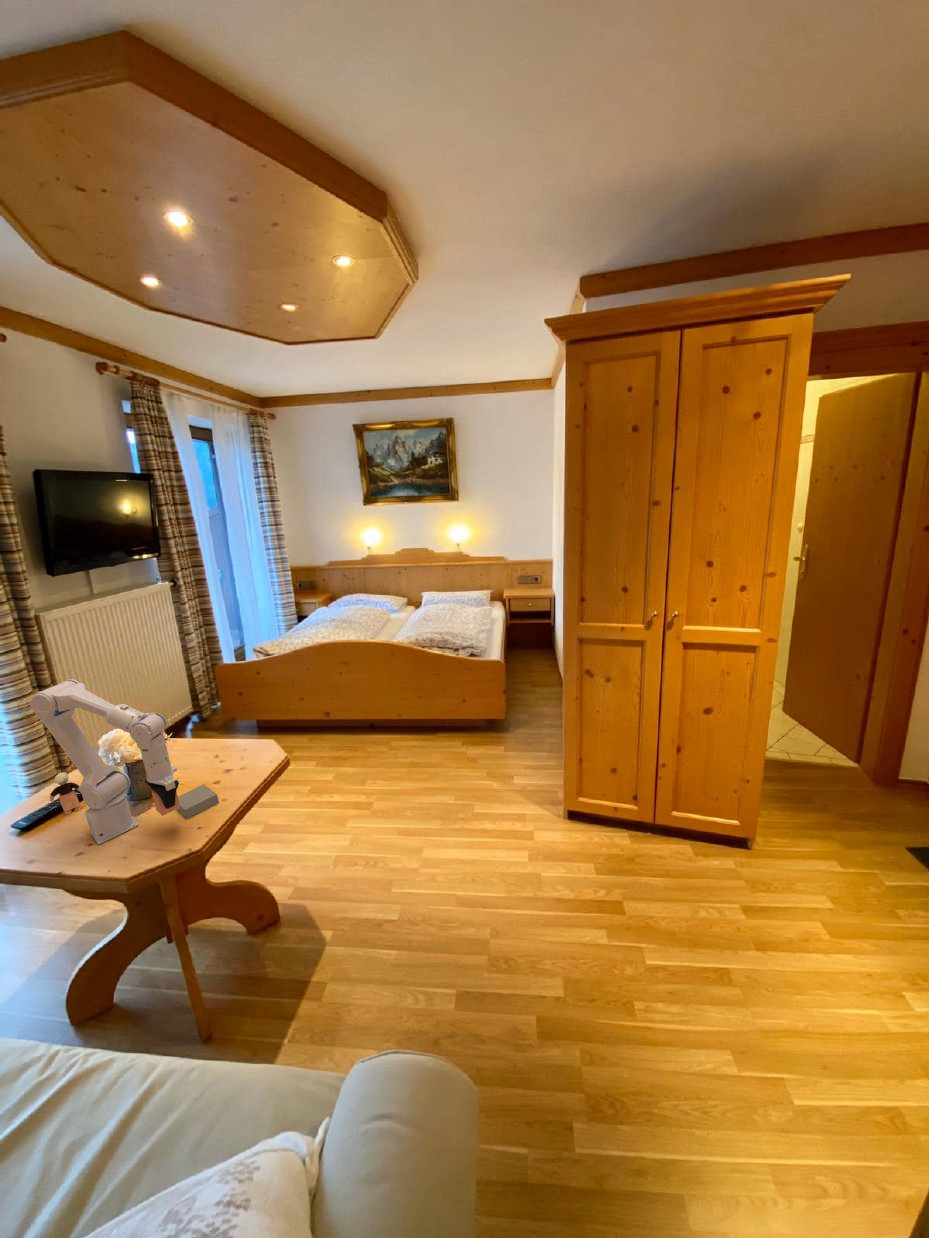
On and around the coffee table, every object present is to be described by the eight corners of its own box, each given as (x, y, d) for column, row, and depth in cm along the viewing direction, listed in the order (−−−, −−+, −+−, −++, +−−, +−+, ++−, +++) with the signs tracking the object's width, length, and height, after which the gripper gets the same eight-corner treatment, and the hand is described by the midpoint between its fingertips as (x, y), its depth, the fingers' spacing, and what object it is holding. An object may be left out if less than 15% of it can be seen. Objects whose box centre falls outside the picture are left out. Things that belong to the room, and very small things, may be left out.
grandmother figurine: (85, 801, 147) (74, 765, 144) (88, 806, 144) (77, 769, 141) (53, 815, 141) (41, 777, 138) (56, 820, 139) (44, 782, 135)
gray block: (187, 818, 136) (185, 809, 135) (174, 807, 141) (172, 798, 141) (219, 802, 143) (217, 794, 142) (205, 792, 148) (204, 784, 147)
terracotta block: (162, 816, 127) (157, 796, 125) (156, 809, 130) (151, 790, 128) (180, 807, 130) (175, 788, 129) (173, 801, 133) (169, 782, 132)
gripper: (183, 760, 125) (193, 805, 128) (162, 744, 134) (172, 787, 137) (153, 773, 119) (164, 819, 123) (134, 755, 128) (145, 799, 132)
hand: (167, 803), depth 130 cm, fingers closed on terracotta block, 4 cm apart
